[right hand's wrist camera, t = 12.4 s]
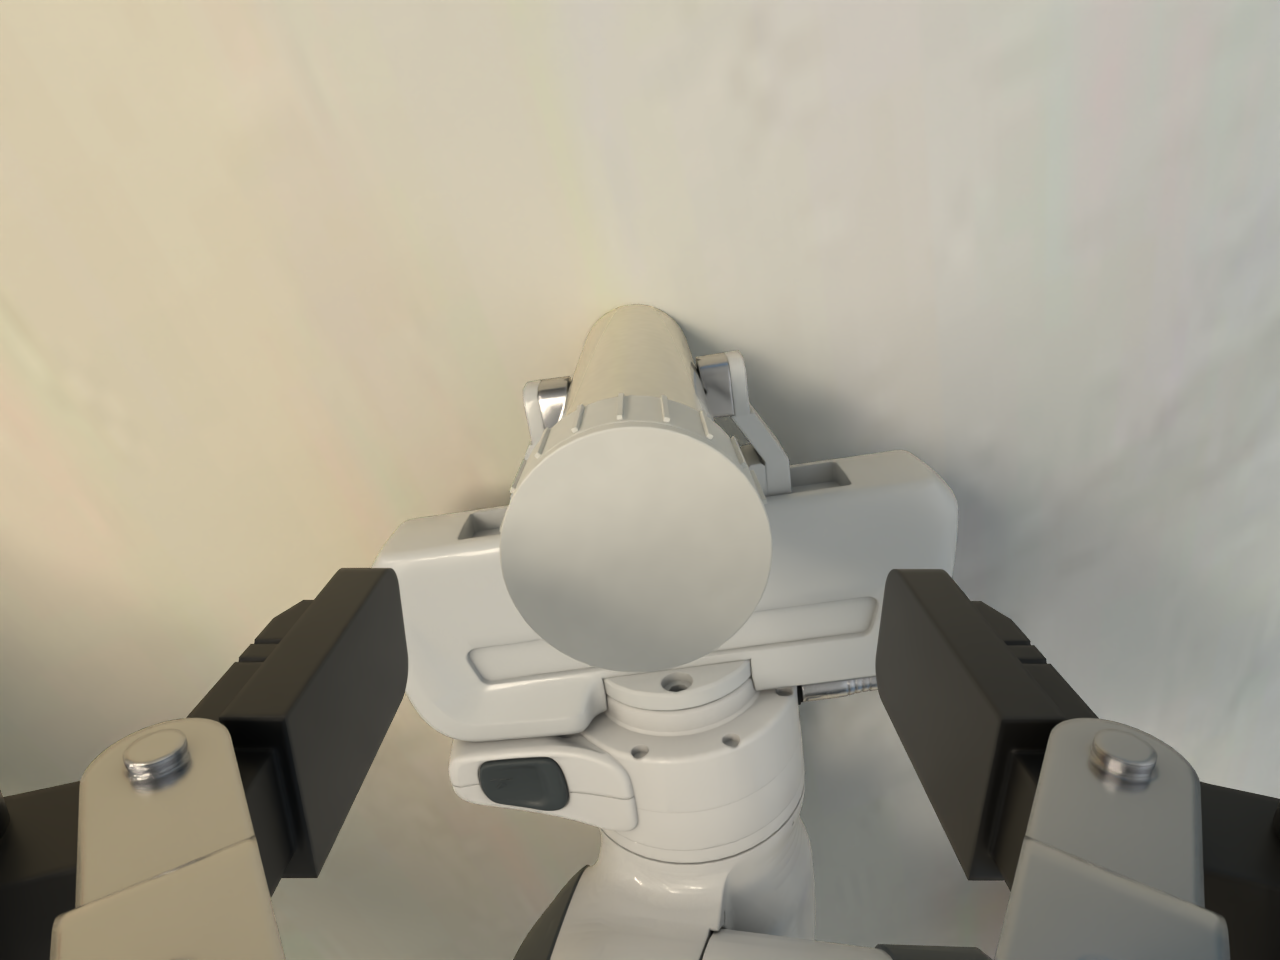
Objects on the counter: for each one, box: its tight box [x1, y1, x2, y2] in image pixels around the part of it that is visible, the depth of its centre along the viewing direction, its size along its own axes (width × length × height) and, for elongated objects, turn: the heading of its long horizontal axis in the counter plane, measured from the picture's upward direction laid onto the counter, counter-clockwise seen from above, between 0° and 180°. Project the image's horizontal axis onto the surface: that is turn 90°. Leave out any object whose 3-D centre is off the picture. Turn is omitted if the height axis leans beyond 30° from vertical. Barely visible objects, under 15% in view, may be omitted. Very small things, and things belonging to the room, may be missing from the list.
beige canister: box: [557, 304, 715, 422], centre depth 22 cm, size 4×4×18 cm
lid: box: [499, 393, 773, 672], centre depth 15 cm, size 5×5×2 cm
